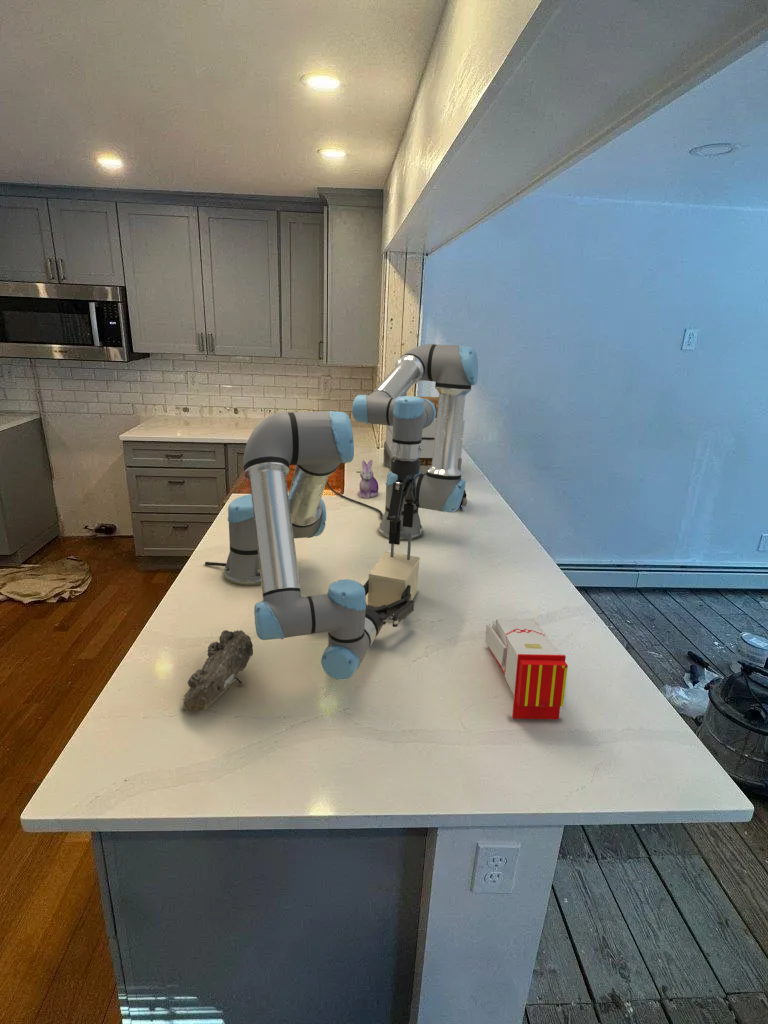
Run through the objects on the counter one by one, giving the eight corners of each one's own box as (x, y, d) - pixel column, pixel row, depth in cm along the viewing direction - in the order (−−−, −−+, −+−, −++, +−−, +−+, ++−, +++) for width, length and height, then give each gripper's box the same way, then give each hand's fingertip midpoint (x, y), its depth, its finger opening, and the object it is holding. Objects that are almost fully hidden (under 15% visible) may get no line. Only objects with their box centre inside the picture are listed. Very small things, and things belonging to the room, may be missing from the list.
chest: (383, 586, 162) (385, 555, 159) (416, 592, 159) (419, 561, 156) (367, 610, 149) (368, 577, 146) (403, 616, 146) (405, 583, 143)
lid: (385, 554, 159) (387, 525, 156) (419, 560, 157) (421, 530, 154) (368, 577, 146) (369, 545, 143) (405, 583, 143) (407, 551, 140)
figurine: (363, 499, 233) (364, 464, 228) (353, 492, 242) (354, 458, 236) (383, 497, 237) (385, 462, 232) (373, 490, 246) (374, 456, 241)
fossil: (205, 632, 127) (252, 602, 122) (234, 661, 130) (282, 632, 125) (161, 704, 108) (216, 672, 103) (197, 736, 111) (252, 705, 106)
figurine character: (467, 515, 225) (461, 499, 238) (469, 498, 221) (463, 482, 235) (450, 514, 224) (445, 498, 238) (452, 497, 221) (447, 482, 234)
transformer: (382, 463, 289) (386, 382, 275) (445, 464, 293) (451, 384, 279) (390, 482, 257) (394, 392, 243) (460, 483, 261) (468, 394, 247)
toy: (531, 603, 136) (576, 661, 106) (526, 655, 139) (569, 725, 109) (481, 602, 135) (512, 660, 106) (477, 654, 138) (507, 724, 109)
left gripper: (315, 633, 132) (348, 591, 152) (408, 653, 126) (430, 606, 146) (315, 605, 129) (349, 566, 150) (410, 624, 124) (432, 580, 144)
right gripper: (407, 471, 133) (402, 554, 140) (430, 449, 156) (425, 521, 163) (377, 467, 135) (373, 549, 142) (404, 446, 158) (400, 518, 165)
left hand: (389, 586), depth 148 cm, fingers closed on chest, 10 cm apart
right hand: (401, 534), depth 153 cm, fingers open, 13 cm apart
